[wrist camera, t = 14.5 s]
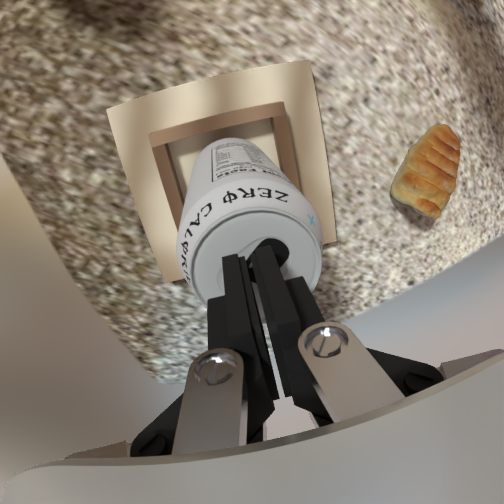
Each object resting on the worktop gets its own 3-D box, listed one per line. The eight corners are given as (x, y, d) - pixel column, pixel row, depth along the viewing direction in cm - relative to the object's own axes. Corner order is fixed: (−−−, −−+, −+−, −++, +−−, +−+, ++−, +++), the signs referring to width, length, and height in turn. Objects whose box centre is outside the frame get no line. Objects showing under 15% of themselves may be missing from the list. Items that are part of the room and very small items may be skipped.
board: (304, 61, 22) (315, 57, 20) (332, 235, 30) (342, 248, 27) (110, 108, 22) (100, 110, 20) (166, 276, 29) (163, 292, 27)
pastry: (418, 109, 25) (443, 113, 22) (460, 140, 27) (484, 148, 23) (381, 194, 29) (402, 208, 25) (426, 217, 30) (447, 232, 27)
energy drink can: (177, 183, 24) (142, 292, 11) (222, 120, 23) (239, 153, 9) (238, 222, 27) (269, 354, 13) (284, 165, 25) (367, 251, 12)
